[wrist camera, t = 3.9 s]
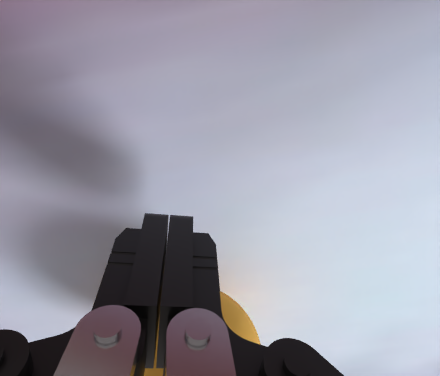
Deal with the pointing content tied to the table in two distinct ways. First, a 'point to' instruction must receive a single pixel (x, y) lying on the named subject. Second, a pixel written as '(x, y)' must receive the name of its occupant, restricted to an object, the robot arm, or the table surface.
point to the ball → (232, 317)
